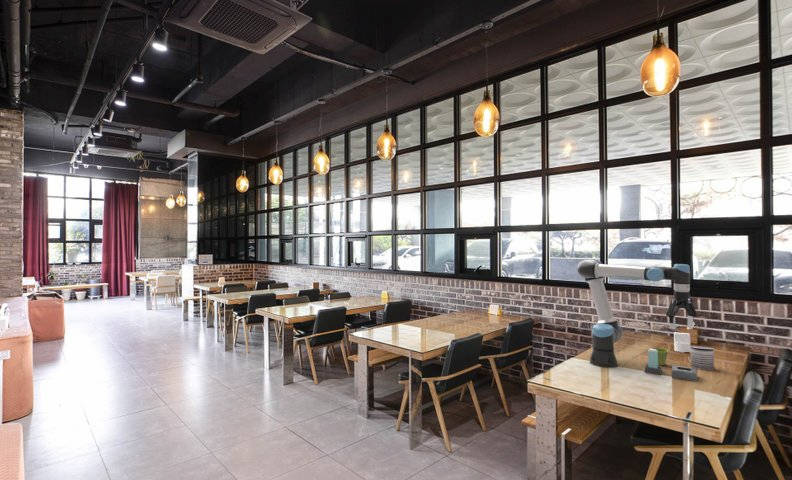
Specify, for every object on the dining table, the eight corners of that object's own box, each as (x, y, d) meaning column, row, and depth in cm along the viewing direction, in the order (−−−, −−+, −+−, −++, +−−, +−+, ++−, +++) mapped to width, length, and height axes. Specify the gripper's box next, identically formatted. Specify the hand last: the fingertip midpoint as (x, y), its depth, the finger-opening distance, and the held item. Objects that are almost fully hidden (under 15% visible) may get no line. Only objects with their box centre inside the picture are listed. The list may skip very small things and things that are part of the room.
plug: (648, 372, 231) (647, 349, 231) (649, 370, 234) (648, 348, 235) (657, 373, 228) (657, 350, 228) (658, 371, 232) (657, 349, 232)
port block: (672, 377, 221) (671, 369, 222) (672, 372, 230) (672, 364, 230) (697, 381, 215) (696, 373, 215) (696, 375, 224) (696, 367, 224)
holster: (644, 372, 230) (644, 367, 230) (646, 369, 237) (645, 363, 237) (660, 374, 226) (660, 369, 226) (661, 371, 232) (661, 366, 232)
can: (689, 367, 239) (688, 347, 240) (691, 363, 248) (691, 343, 248) (713, 371, 232) (712, 350, 232) (715, 366, 240) (714, 346, 240)
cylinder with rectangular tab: (689, 350, 278) (689, 332, 278) (690, 353, 270) (690, 335, 270) (674, 348, 282) (673, 331, 283) (674, 351, 275) (674, 333, 275)
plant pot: (671, 366, 241) (671, 352, 241) (654, 366, 243) (653, 351, 243) (664, 362, 250) (664, 348, 250) (647, 361, 252) (647, 347, 252)
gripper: (671, 292, 224) (670, 330, 224) (704, 291, 231) (704, 328, 231) (659, 290, 231) (658, 327, 231) (691, 289, 238) (691, 325, 238)
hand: (681, 328), depth 231 cm, fingers open, 13 cm apart
